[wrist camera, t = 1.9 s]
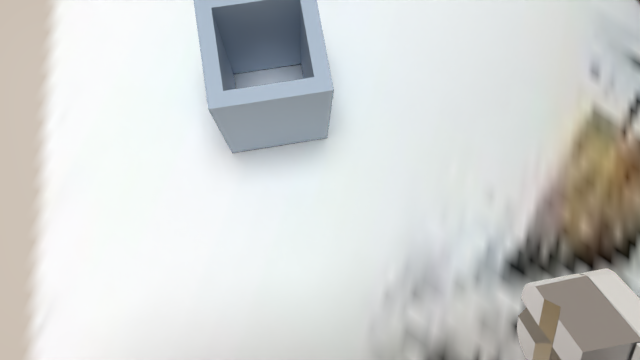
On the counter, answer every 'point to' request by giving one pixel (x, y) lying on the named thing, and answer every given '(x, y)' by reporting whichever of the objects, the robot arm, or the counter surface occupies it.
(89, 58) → the counter surface
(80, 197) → the counter surface
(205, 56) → the open square bin
